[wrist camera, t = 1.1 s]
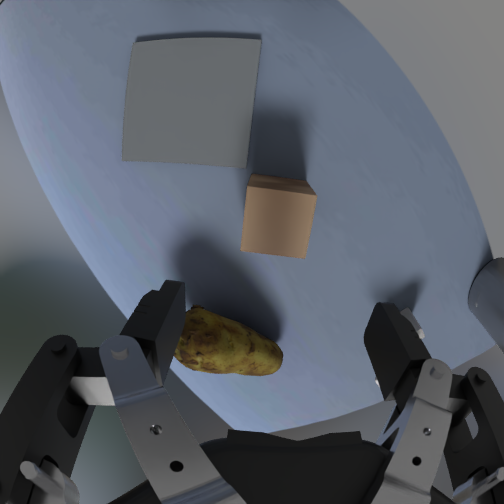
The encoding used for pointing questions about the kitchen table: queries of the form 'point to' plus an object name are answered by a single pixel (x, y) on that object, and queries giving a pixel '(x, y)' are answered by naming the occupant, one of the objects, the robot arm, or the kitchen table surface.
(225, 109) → the coaster
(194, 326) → the potato
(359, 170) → the kitchen table surface
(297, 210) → the block
